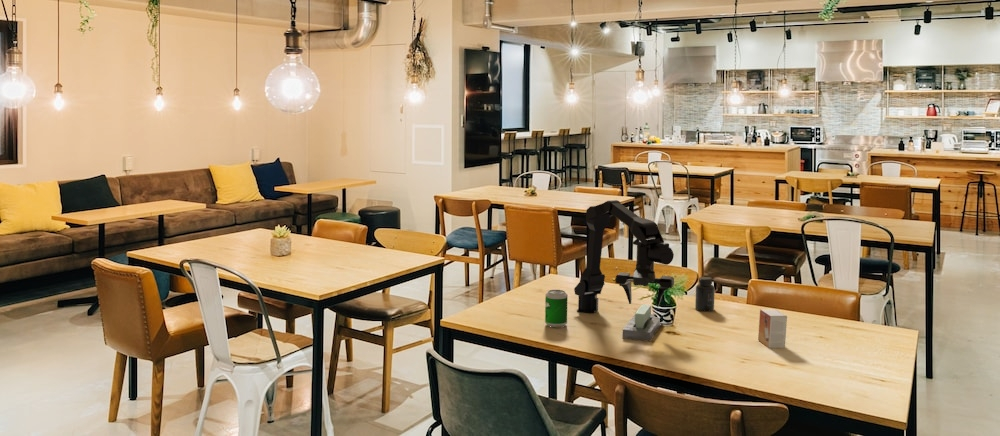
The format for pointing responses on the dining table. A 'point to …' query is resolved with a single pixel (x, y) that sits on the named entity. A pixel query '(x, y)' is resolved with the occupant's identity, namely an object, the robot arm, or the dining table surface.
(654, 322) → the rail
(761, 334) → the small box
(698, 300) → the supplement bottle
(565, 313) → the soda can
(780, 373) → the dining table surface
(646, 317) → the staple
